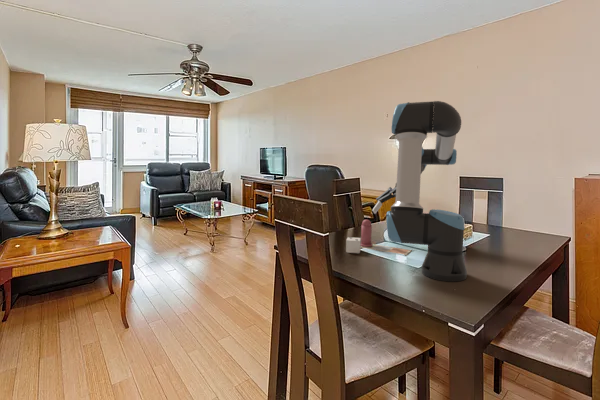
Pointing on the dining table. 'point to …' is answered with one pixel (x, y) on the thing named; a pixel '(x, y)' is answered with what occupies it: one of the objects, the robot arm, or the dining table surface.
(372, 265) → the dining table surface
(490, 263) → the dining table surface
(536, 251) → the dining table surface
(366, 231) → the dildo
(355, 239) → the die
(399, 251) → the game board
